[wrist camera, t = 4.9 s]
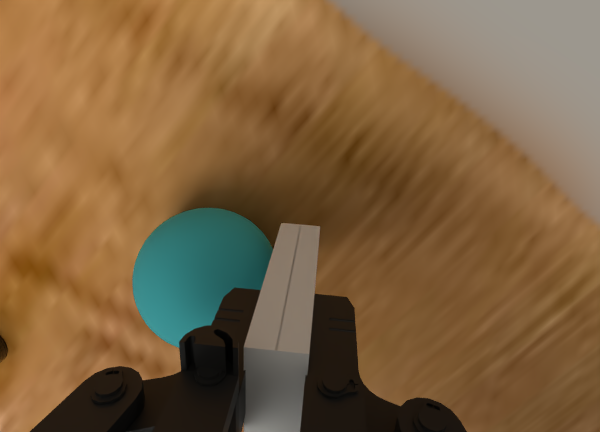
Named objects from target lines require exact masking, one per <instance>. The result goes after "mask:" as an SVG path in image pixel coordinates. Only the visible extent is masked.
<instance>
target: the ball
mask: <svg viewBox="0 0 600 432" xmlns="http://www.w3.org/2000/svg"><path fill="white" fill-rule="evenodd" d="M272 252H273V248H272V246H271V244H270V242H269V241H268V239H267V238H266V236H265V235H264V234H263V232H262V231H261V230H260V229H259V228H258V227H257V226H256V225H255V224H253V223H252V222H251V221H250V220H248V219H246V218H245V217H243V216H241V215H239V214H237V213H235V212H232V211H228V210H225V209H219V208H197V209H192V210H188V211H184V212H182V213H180V214H177V215H175V216H173V217H171V218H169V219H168V220H166V221H165V222H163V223H162V224H161V225H160V226H158V227H157V228H156V229H155V230H154V231H153V232H152V233H151V235H150V236H149V237H148V238H147V239H146V241H145V243H144V244H143V246H142V248H141V250H140V251H139V254H138V256H137V259H136V262H135V266H134V271H133V294H134V299H135V303H136V305H137V308H138V310H139V313H140V315H141V316H142V318H143V320H144V321H145V323H146V324H147V325H148V327H149V328H150V329H151V330H152V331H153V332H154V333H155V334H156V335H157V336H159V337H160V338H161V339H163V340H164V341H166V342H167V343H169V344H171V345H174V346H176V347H178V348H179V341H180V340H181V339H182V338H183V336H184V335H185V334H187V333H188V332H190V331H192V330H193V329H195V328H199V327H202V326H207V325H211V324H212V322H213V320H214V318H215V315H216V313H217V311H218V310H219V306H220V304H221V302H222V299H223V297H224V296H225V295H226V294H227V293H229V292H230V291H231V290H232V289H233V288H245V289H256V290H261V288H262V285H263V282H264V278H265V275H266V272H267V268H268V265H269V262H270V259H271V255H272Z"/></svg>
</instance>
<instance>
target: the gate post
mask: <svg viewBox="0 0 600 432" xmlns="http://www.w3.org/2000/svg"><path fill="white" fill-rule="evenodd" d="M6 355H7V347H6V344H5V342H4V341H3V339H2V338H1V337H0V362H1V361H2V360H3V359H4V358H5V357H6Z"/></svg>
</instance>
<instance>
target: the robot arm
mask: <svg viewBox="0 0 600 432" xmlns="http://www.w3.org/2000/svg"><path fill="white" fill-rule="evenodd" d="M319 236H320V226H312V225H300V224H289V223H281V226H280V229H279V232H278V236H277V239H276V242H275V245H274V249H273V252H272V255H271V259H270V262H269V265H268V268H267V272H266V275H265V278H264V282H263V285H262V288H261V290H256V289H245V288H233V289H232V290H231V291H230V292H229V293H227V294H226V295H225V296H224V297H223V299H222V302H221V304H220V306H219V310H218V311H217V313H216V315H215V318H214V320H213V322H212V324H211V325H207V326H202V327H199V328H195V329H193V330H192V331H190V332H188V333H187V334H185V335H184V336H183V338H182V339H181V340H180V341H179V348H180V360H181V372H179V373H176V374H174V375H171V376H167V377H162V378H156V379H149V380H143V381H142V378H141V376H140V374H139V372H137V371H135V370H134V369H132V368H129V367H122V366H119V367H112V368H107V369H104V370H102V371H99V372H97V373H95V374H94V375H92V376H91V377H89V378H88V379H87V380H85V381H84V382H83V383H82V384H81V385H80V386H79V387H77V388H76V389H75V390H74V391H73V392H72V393H71V394H70V395H69V396H68V397H67V398H66V399H65V400H63V401H62V402H61V403H60V404H59V405H58V406H57V407H56V408H55V409H54V410H53V411H52V412H51V413H49V414H48V415H47V416H46V417H45V418H44V419H43V420H42V421H41V422H40V423H39V424H38V425H37V426H35V427H34V428H33V429H32V430H31V431H30V432H241V431H242V427H243V422H244V432H466V430H465V428H464V426H463V425H462V423H461V421H460V420H459V419H458V418H457V416H456V415H455V414H454V413H453V412H452V411H451V410H450V409H449V408H447V407H446V406H444V405H443V404H441V403H439V402H437V401H434V400H431V399H428V398H414V399H411V400H407V401H406V402H405V403H404V404H403V405H402V406H398V405H396V404H393V403H391V402H388V401H385V400H383V399H381V398H379V397H377V396H376V395H375V394H373V393H372V392H371V391H369V390H368V389H367V387H366V386H365V385H364V384H363V382H362V380H361V378H360V375H359V371H358V356H357V342H356V327H355V312H354V307H353V306H352V304H351V303H350V301H349V300H348V298H347V297H340V296H330V295H319V294H315V283H316V271H317V259H318V248H319Z"/></svg>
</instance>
